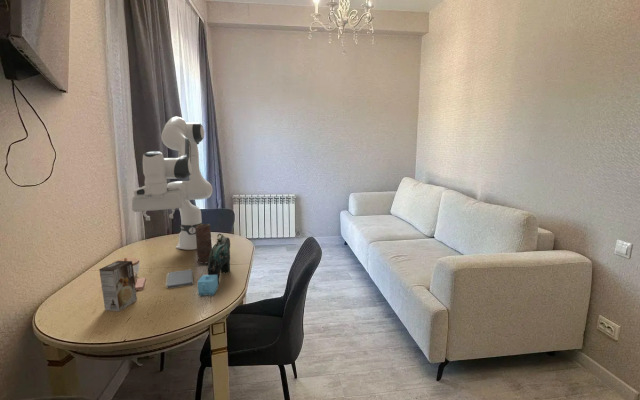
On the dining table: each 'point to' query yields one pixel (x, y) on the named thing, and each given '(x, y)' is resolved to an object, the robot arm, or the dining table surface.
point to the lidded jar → (134, 261)
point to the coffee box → (118, 285)
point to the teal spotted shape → (219, 257)
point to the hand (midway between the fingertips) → (159, 219)
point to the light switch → (139, 282)
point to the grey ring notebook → (179, 279)
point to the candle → (203, 242)
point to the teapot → (207, 285)
